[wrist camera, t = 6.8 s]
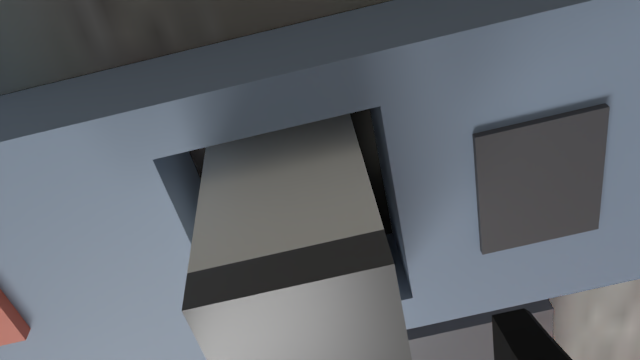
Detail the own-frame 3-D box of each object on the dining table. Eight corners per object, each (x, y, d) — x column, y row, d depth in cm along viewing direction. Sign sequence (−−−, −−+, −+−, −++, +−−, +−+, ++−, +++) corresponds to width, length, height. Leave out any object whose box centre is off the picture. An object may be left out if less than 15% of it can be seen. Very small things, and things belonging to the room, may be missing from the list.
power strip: (632, -58, 14) (725, -24, 11) (605, 214, 19) (665, 284, 16) (-111, 122, 15) (-195, 196, 12) (50, 338, 20) (16, 425, 17)
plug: (344, 96, 16) (394, 263, 10) (371, 229, 19) (423, 419, 13) (208, 128, 16) (181, 311, 10) (255, 255, 19) (255, 454, 13)
